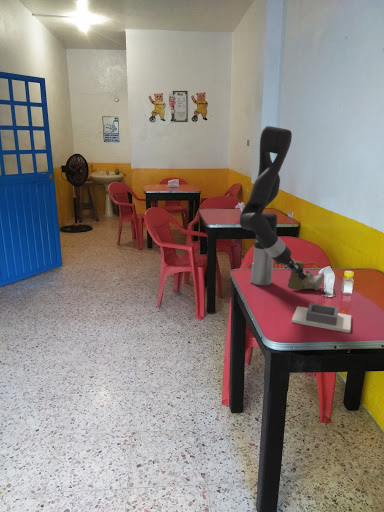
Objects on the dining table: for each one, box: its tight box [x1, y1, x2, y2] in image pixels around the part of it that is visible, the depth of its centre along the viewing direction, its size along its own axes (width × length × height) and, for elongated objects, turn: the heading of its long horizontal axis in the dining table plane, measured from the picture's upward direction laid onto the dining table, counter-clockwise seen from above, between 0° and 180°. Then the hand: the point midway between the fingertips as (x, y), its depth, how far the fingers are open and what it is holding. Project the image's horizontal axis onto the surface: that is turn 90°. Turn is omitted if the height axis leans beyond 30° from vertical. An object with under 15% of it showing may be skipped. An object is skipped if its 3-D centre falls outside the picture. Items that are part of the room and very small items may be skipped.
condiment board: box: [291, 302, 352, 334], centre depth 147 cm, size 20×14×4 cm
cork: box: [287, 260, 305, 291], centre depth 161 cm, size 6×6×11 cm
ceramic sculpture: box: [302, 270, 324, 291], centre depth 179 cm, size 11×9×15 cm
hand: (300, 276), depth 162 cm, fingers closed on cork, 4 cm apart
